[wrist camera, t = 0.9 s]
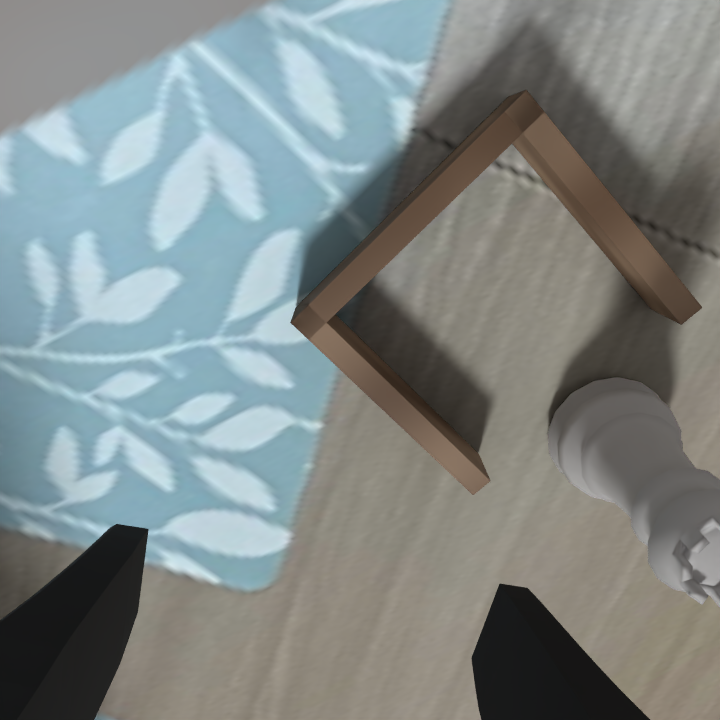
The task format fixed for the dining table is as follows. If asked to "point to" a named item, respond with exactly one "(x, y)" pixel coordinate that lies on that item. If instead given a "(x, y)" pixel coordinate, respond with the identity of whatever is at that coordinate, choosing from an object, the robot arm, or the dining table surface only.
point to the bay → (492, 137)
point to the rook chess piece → (643, 478)
